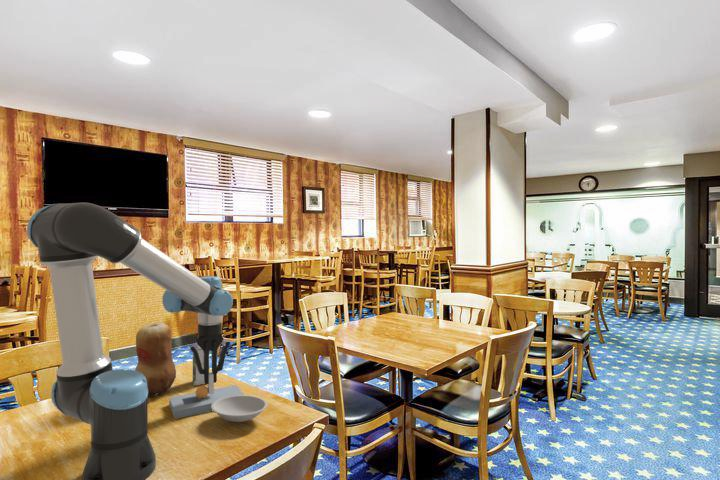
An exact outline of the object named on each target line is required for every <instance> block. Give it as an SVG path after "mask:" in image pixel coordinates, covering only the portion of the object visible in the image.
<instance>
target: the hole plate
mask: <svg viewBox="0 0 720 480" xmlns="http://www.w3.org/2000/svg"><path fill="white" fill-rule="evenodd" d="M235 395H245V394H244V393H243V391H242V390H241V389H240V388H239V386H238V385H237V384H234V385H230V386H224V387H222V386H221V387H217V388H214V394H210V395H209V393H208V395H207V396H206V397H205V398H198V397H197V396H196V392H192V393H186V394H182V395H176V396H169V399H168V402H169V404H168V406H169V408H170V410H171V411H170V412H171V413H172V416H173V419H174V420H177V419H182V418H188V417H189V416H190V417H191V416H196V415H200V413H201V414H205V413H208V412H207V411H210V412H212V411H211V410H212V409H211V405H212V403H213V402H215V401H216V400H218V399H221V398H224V397H228V396H235ZM204 412H205V413H204Z"/></svg>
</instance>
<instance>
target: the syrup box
mask: <svg viewBox="0 0 720 480" xmlns="http://www.w3.org/2000/svg"><path fill="white" fill-rule="evenodd" d="M197 352H198V355H199V358H200V362H201V365H202V369H204V353H203V350H202V349H201V347H200V346H199V345H198V350H197ZM199 384H203V385H206V384H205V382H204V374H200V373H199V372H198V369H197V365H196V361H195V358H194V354H193V353H192V386H193V387H195V386H194V385H197V386H200V385H199Z"/></svg>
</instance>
